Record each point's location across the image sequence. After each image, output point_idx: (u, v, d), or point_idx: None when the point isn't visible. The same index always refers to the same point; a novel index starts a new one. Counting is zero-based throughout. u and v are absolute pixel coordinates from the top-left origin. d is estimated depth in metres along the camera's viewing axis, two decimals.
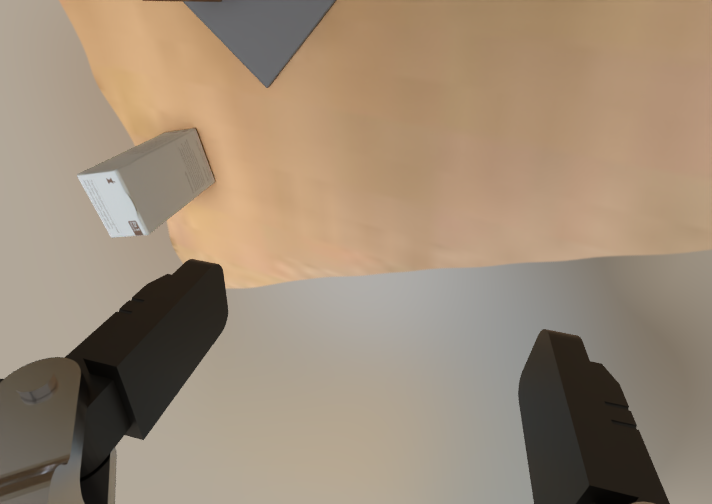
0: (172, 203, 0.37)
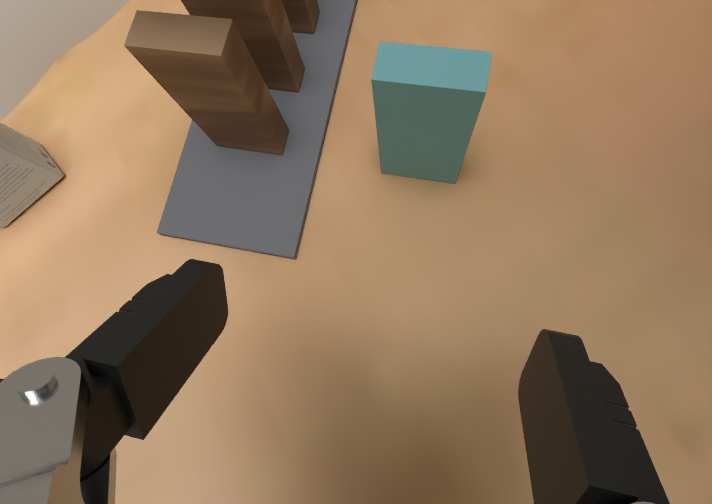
0: None
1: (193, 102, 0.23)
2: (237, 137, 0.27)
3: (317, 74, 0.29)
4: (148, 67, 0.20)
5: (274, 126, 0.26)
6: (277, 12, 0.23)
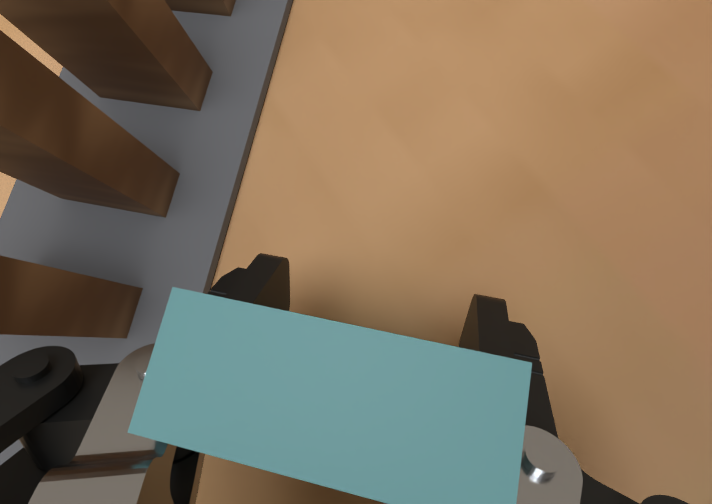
0: None
1: None
2: None
3: (199, 184, 0.17)
4: None
5: (84, 313, 0.13)
6: (50, 109, 0.11)
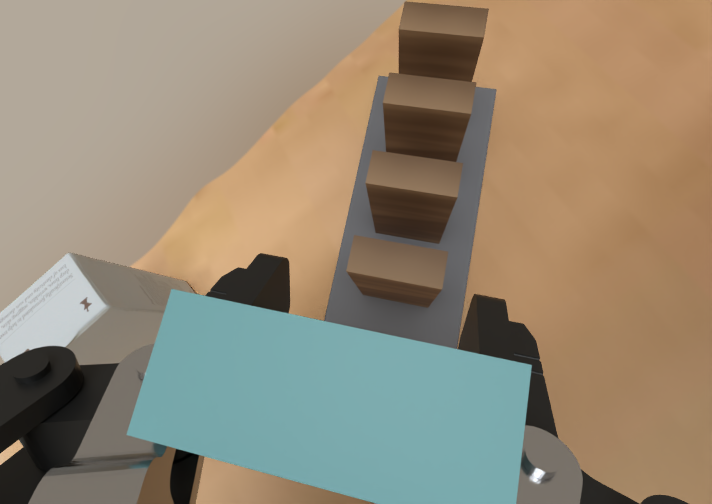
0: None
1: (373, 287, 0.25)
2: (393, 298, 0.28)
3: (455, 225, 0.31)
4: (354, 277, 0.22)
5: None
6: None
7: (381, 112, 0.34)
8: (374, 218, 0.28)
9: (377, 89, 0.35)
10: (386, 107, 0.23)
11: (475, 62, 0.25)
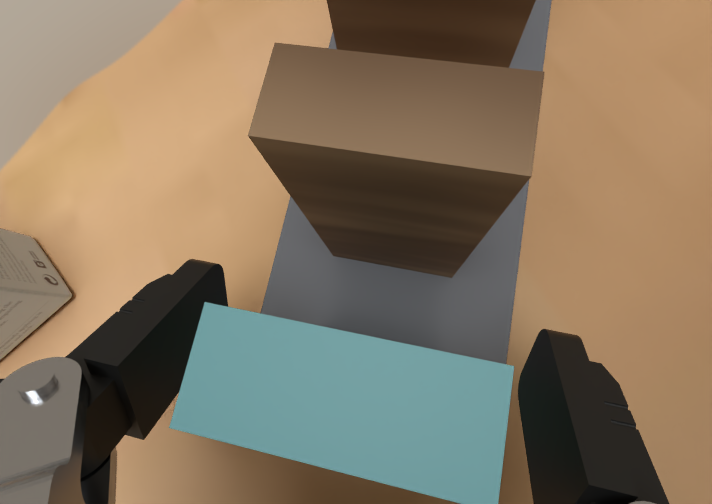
0: None
1: (343, 220, 0.11)
2: (387, 256, 0.15)
3: None
4: (284, 172, 0.09)
5: None
6: None
7: None
8: None
9: None
10: None
11: None
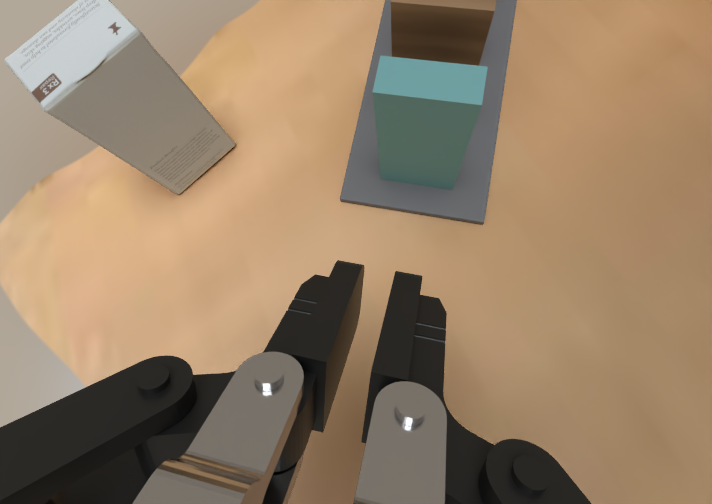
0: (121, 140, 0.23)
1: None
2: None
3: (489, 46, 0.30)
4: (396, 26, 0.21)
5: None
6: None
7: None
8: None
9: None
10: None
11: None
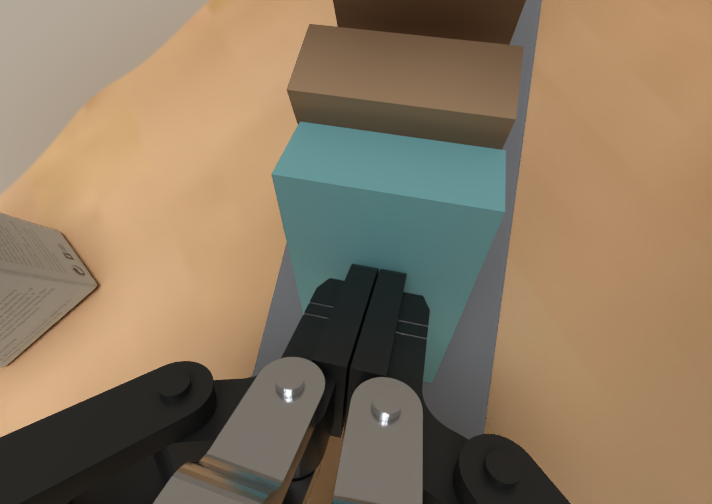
0: None
1: None
2: None
3: None
4: None
5: None
6: None
7: None
8: None
9: None
10: None
11: None
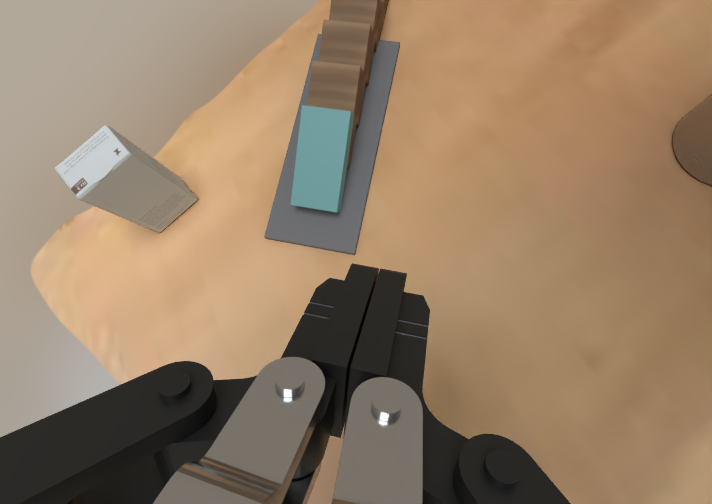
0: (120, 207, 0.38)
1: (318, 106, 0.42)
2: None
3: (366, 134, 0.45)
4: (313, 76, 0.41)
5: (351, 142, 0.42)
6: (366, 66, 0.43)
7: (318, 59, 0.48)
8: None
9: (316, 43, 0.48)
10: None
11: None
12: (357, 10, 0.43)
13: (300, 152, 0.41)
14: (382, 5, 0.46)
